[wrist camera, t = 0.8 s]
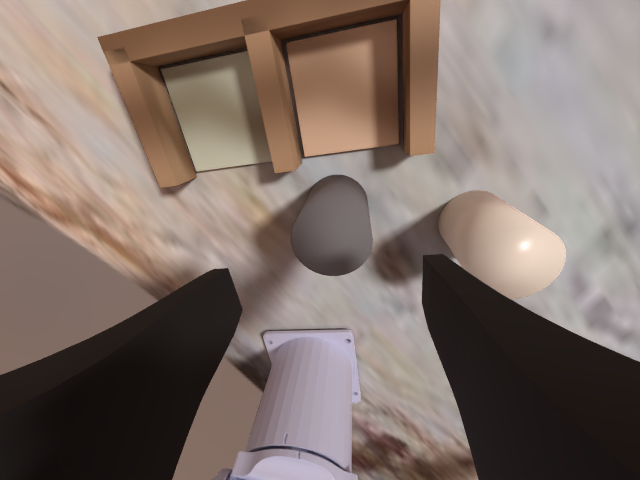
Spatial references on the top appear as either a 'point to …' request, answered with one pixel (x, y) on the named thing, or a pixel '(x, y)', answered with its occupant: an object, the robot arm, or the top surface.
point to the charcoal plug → (333, 227)
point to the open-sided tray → (277, 82)
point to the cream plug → (501, 244)
